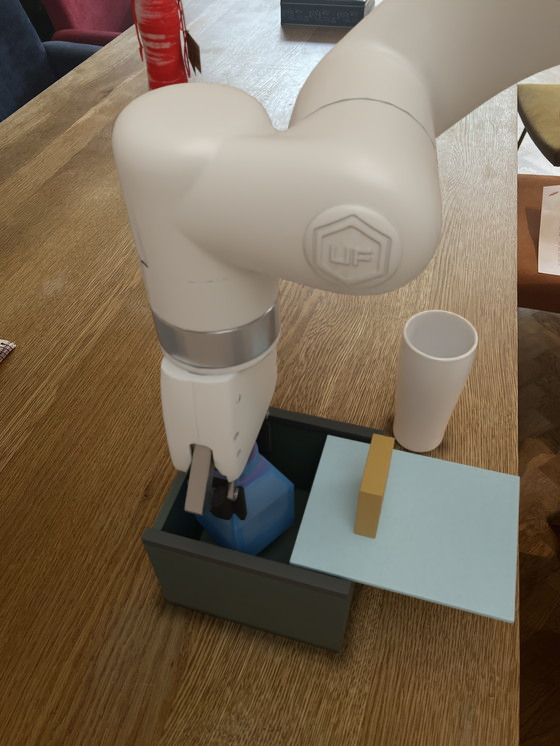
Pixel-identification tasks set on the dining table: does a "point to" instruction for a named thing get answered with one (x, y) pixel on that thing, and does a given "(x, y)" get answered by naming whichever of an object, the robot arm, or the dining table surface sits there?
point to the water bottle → (164, 42)
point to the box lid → (413, 526)
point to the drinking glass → (431, 376)
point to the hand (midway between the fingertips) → (240, 478)
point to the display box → (272, 564)
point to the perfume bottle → (255, 508)
